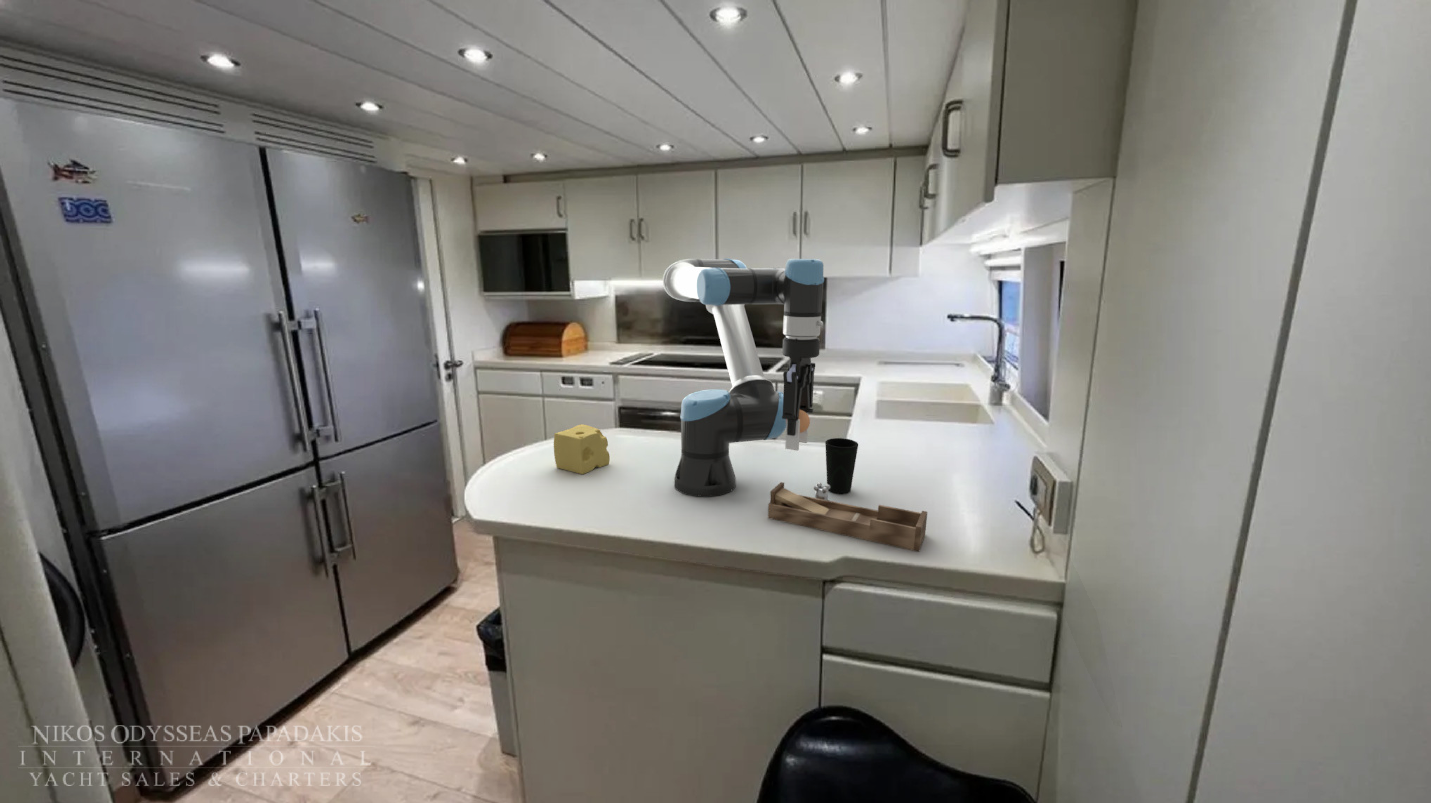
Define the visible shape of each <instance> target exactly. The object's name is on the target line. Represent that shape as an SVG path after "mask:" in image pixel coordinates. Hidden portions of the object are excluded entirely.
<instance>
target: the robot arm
mask: <svg viewBox="0 0 1431 803" xmlns="http://www.w3.org/2000/svg"><path fill="white" fill-rule="evenodd" d="M662 276H663V277H662V285H663V288H664V291H665V292H666V293H667V294H668V296H670V298H672V299H675V300H677V301H678V300H679V301H682V302H689V303H692V302H693V303H701V304H703V305H705V308H706V311H708V313H710V314H712V315H713V318H714V320H715V321H714V322H715V325H716V328H717V334H718V338H719V339H720V340H719V341H720V344H721V348H722V351H723V357H724V360H725V364H726V368H727V371H728V374H729V379H730V382H731V383H730V384H731V388H730V390H729V391H728V390H726V389H722V388H717V389H713V388H711V389H703V390H699V391H698V390H697V391H694V392H692V393H689V394H688V395H686V396H685V397H684V398H683V399H682V401H681V408H680V416H679V418H680V433H681V435H680V437H681V438H680V444H681V445H680V446H681V447H680V448H681V449H680V450H681V454H680V455H681V456H680V459H679V461H678V464H677V468H676V471H675V474H674V488H675V489H676V491H678V492H681V493H682V494H685V495H689V496H693V497H715V496H716V497H717V496H722V495H726V494H728V493H730V492H732V491H733V490H735V488H736V484H737V483H736V479H737V477H736V474H735V470H734V468H733V464H732V461H731V457H730V444H732V443H743V442H753V441H754V442H755V441H767V440H769V439H775V438H779V437H781V436H782V435H783V433H784V432H785V450H791V451H799V450H800V443H802V444H807V443H808V439H809V438H808V437H809V436H808V434H809V427H808V428H807V430H806V431H804V432H802V433H800V420H799V410H803V411H804V412H806V413H807V414H808V416H809V414H813V413H814V408H813V402H814V381H815V380H814V379H815V370H816V363H815V362H812V360H811V359H813V358H816V357H819V355H820V350H821V349H820V348H821V345H820V344H821V340H820V338H819V336H820V335H821V327H823V325H824V322H823V321H822V311H823V297H824V296H823V294H824V282H825V277H824V263H823V261H822V260H821V259H819V258H818V259H817V258H789V259H788V260H787V262H786V263H785V268H783V267H771V268H762V267H761V268H757V267H756V268H755V267H753V268H748V267H747V266H746V264H745V263H744V262H742V260H739V259H731V258H723V259H715V258H714V259H713V258H712V259H711V258H709V259H707V258H687V259H686V258H685V259H684V258H683V259H680V260H677V261H676V262H674V263H672V264H670V265H669V266H668V267H667V268H666V269H665V271H664V274H663V275H662ZM745 305H783V321H782V322H783V323H782V324H783V325H782V334H783V335H784V337H783V338H782V352H781V353H782V355H783V356H785V357H788V358H790V360H789V365H788V368H787V370H784V371H783V373H782V376H783V391H779V390H777V391H775V387H774V384H773V382H772V380H770V379H767V378H766V377H765V374H764V371H763V368H762V364H761V361H760V358H759V355H758V351H757V347H756V344H755V339H754V337H753V332H752V330H751V326H750V322H749V319H748V315H747V312H746V308H745ZM809 417H810V416H809ZM786 419H787V420H786Z"/></svg>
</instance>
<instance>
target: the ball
mask: <svg viewBox="0 0 1431 803" xmlns="http://www.w3.org/2000/svg"><path fill="white" fill-rule="evenodd" d="M807 413H808V412H807ZM807 413H806V412H804V411H803V410H799V420H800V433H802V432H804V431H806V430H807V428H808V429H809V427H810V425H811V424H810V423H811V418H810V416H808V414H807ZM786 420H787V419H786Z"/></svg>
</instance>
